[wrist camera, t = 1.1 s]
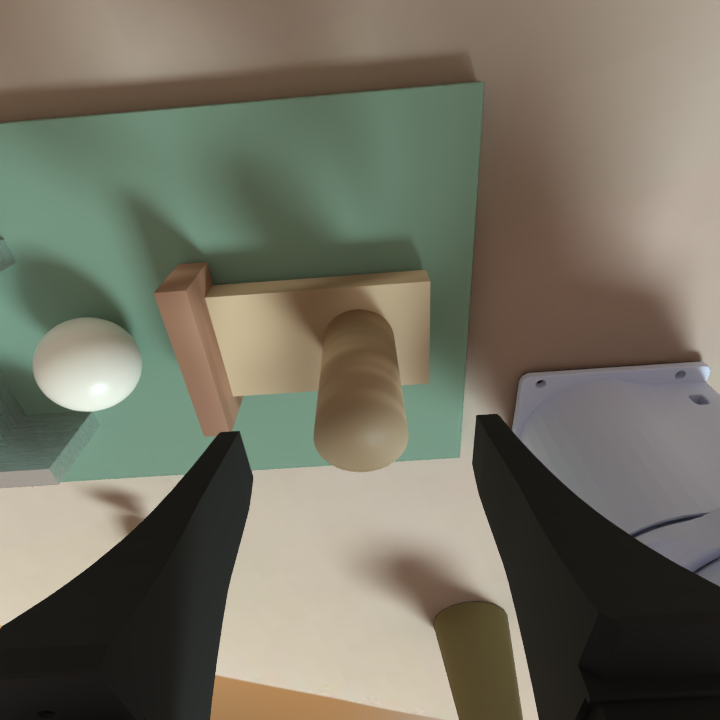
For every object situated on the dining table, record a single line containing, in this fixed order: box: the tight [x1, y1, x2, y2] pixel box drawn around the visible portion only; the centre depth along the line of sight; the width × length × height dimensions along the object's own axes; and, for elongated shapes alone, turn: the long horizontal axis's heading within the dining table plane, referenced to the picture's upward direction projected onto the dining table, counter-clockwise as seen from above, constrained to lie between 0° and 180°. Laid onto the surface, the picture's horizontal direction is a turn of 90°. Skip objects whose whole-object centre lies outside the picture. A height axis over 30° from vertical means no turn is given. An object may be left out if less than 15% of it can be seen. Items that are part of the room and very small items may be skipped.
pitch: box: [0, 81, 484, 482], centre depth 21 cm, size 24×18×1 cm
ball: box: [32, 317, 142, 412], centre depth 19 cm, size 4×4×4 cm
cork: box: [434, 602, 523, 720], centre depth 33 cm, size 6×6×11 cm
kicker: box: [154, 262, 430, 472], centre depth 17 cm, size 10×7×7 cm
